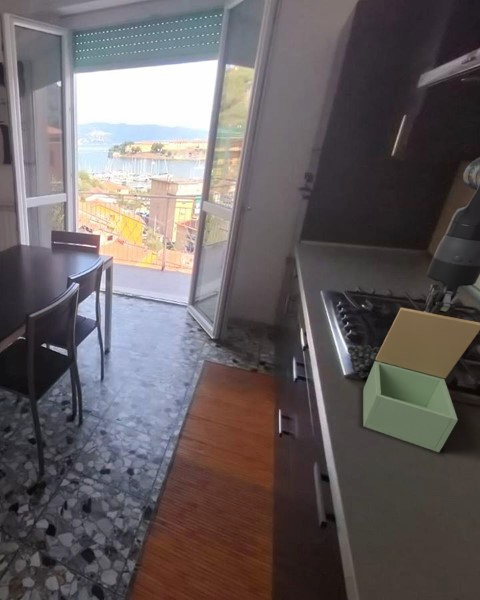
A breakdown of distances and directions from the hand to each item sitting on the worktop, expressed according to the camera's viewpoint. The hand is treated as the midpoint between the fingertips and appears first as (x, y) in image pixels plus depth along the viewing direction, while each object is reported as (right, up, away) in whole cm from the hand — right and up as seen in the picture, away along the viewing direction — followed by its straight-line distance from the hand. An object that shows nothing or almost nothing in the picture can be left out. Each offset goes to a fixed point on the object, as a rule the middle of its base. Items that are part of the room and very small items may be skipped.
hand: (424, 332), depth 80 cm
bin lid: (-2, -3, -1) cm, 3 cm away
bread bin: (-4, -20, +2) cm, 21 cm away
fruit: (+1, -12, +19) cm, 23 cm away
